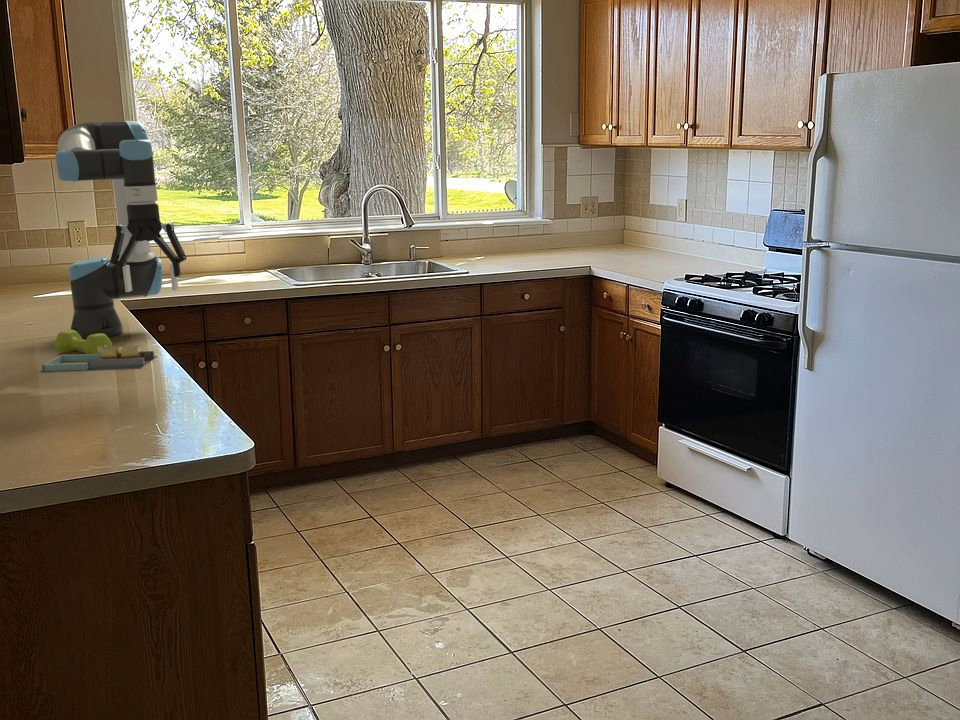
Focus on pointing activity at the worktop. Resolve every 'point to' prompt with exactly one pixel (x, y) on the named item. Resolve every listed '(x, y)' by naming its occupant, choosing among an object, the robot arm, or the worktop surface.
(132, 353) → the wooden cube
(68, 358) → the tray
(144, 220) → the robot arm
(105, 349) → the wooden block
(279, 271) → the worktop surface
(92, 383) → the worktop surface
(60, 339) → the dumbbell
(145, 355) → the slot board
